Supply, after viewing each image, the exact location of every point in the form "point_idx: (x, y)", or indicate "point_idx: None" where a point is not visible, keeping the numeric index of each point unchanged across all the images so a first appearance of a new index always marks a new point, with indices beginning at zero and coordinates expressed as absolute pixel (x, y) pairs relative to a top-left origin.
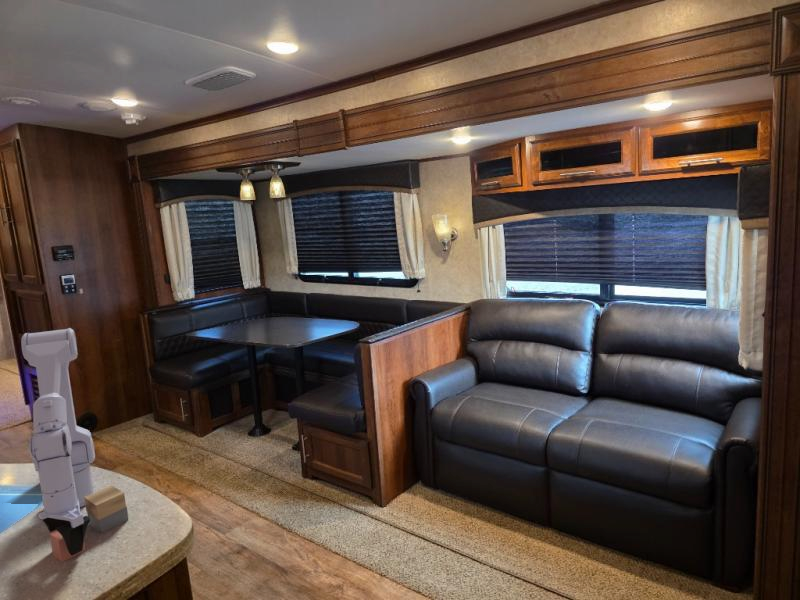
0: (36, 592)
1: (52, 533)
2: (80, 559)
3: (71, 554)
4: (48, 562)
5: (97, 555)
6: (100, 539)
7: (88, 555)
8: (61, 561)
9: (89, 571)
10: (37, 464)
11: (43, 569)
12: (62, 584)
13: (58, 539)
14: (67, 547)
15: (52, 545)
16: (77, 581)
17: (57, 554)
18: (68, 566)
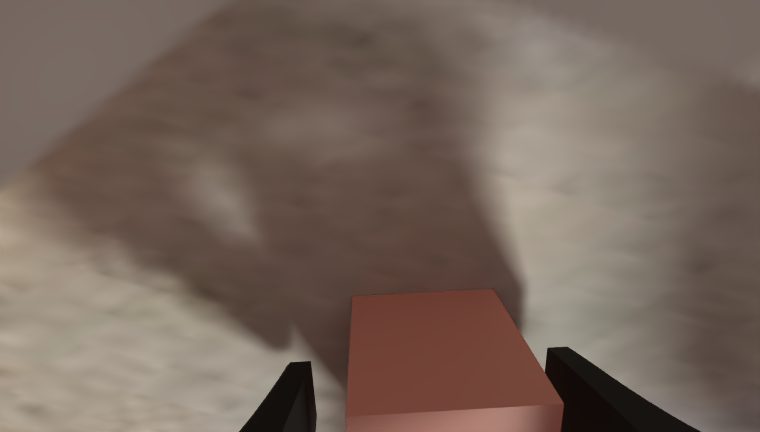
0: (135, 89)
1: (525, 418)
2: None
3: (286, 368)
4: (427, 245)
5: None
6: None
7: None
8: (361, 296)
9: (117, 358)
10: None
11: (374, 202)
12: (99, 224)
13: (363, 421)
14: (281, 401)
15: (494, 331)
16: (62, 288)
17: (416, 309)
18: (273, 304)
